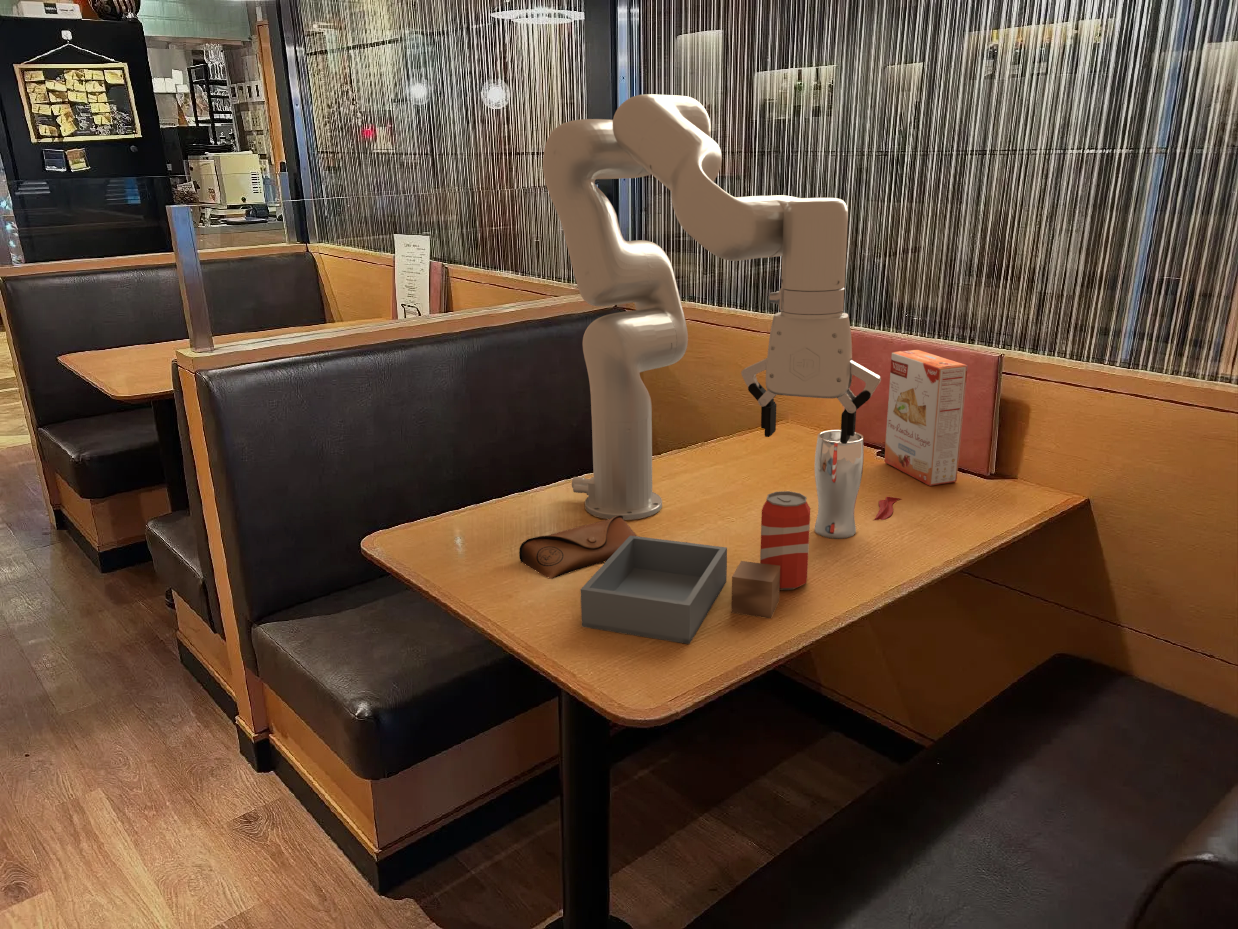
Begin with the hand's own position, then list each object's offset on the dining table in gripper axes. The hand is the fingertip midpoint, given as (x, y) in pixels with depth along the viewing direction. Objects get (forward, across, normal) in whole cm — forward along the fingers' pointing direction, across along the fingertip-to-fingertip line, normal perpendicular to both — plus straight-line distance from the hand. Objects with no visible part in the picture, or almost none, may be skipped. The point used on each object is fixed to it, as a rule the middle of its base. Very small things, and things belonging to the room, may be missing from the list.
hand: (807, 437), depth 118 cm
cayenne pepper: (+20, +7, +30) cm, 37 cm away
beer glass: (+20, +1, +18) cm, 27 cm away
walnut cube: (+20, -4, -10) cm, 23 cm away
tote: (+20, -15, -14) cm, 28 cm away
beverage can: (+20, -2, -2) cm, 20 cm away
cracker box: (+20, +10, +50) cm, 55 cm away
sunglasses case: (+20, -30, -3) cm, 37 cm away
